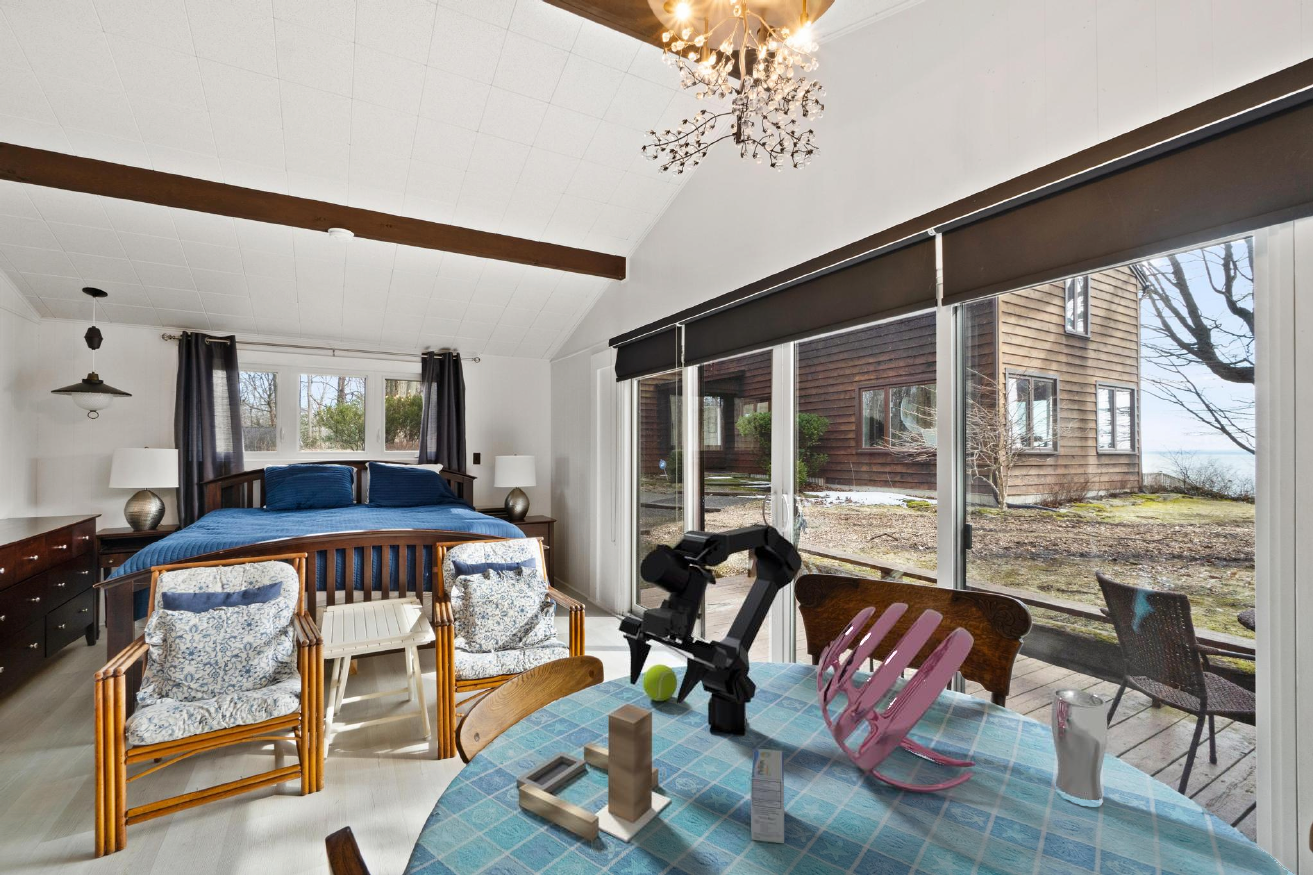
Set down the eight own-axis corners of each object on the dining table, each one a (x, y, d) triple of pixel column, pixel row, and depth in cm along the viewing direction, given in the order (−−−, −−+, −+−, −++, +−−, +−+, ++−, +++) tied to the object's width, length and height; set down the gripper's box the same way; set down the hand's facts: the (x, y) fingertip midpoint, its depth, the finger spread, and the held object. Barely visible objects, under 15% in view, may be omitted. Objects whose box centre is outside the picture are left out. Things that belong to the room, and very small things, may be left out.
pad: (586, 823, 84) (586, 821, 84) (633, 785, 93) (633, 783, 93) (626, 842, 80) (626, 839, 80) (670, 801, 89) (670, 799, 89)
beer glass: (1097, 787, 93) (1097, 691, 93) (1115, 814, 86) (1115, 710, 86) (1045, 779, 95) (1045, 684, 95) (1059, 804, 89) (1059, 703, 89)
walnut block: (627, 796, 90) (627, 703, 90) (651, 807, 87) (652, 711, 87) (608, 812, 86) (608, 714, 86) (633, 823, 83) (633, 723, 83)
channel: (518, 805, 88) (518, 788, 88) (589, 757, 101) (589, 742, 101) (591, 841, 80) (591, 822, 80) (658, 784, 93) (658, 768, 93)
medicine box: (784, 845, 80) (784, 780, 80) (750, 840, 80) (750, 776, 80) (783, 809, 87) (783, 750, 87) (752, 805, 88) (753, 746, 88)
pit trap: (516, 786, 93) (516, 779, 93) (561, 758, 101) (561, 751, 101) (542, 798, 90) (542, 790, 90) (586, 768, 98) (586, 761, 98)
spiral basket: (1060, 659, 94) (907, 547, 106) (1019, 772, 74) (837, 618, 87) (960, 750, 109) (836, 643, 121) (904, 864, 89) (763, 722, 102)
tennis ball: (636, 698, 124) (636, 665, 124) (660, 689, 129) (660, 656, 129) (659, 710, 119) (659, 675, 119) (683, 699, 124) (684, 666, 124)
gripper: (618, 575, 102) (584, 667, 97) (714, 603, 92) (682, 707, 87) (649, 592, 111) (619, 677, 106) (739, 619, 100) (711, 715, 95)
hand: (654, 693), depth 98 cm, fingers open, 9 cm apart
